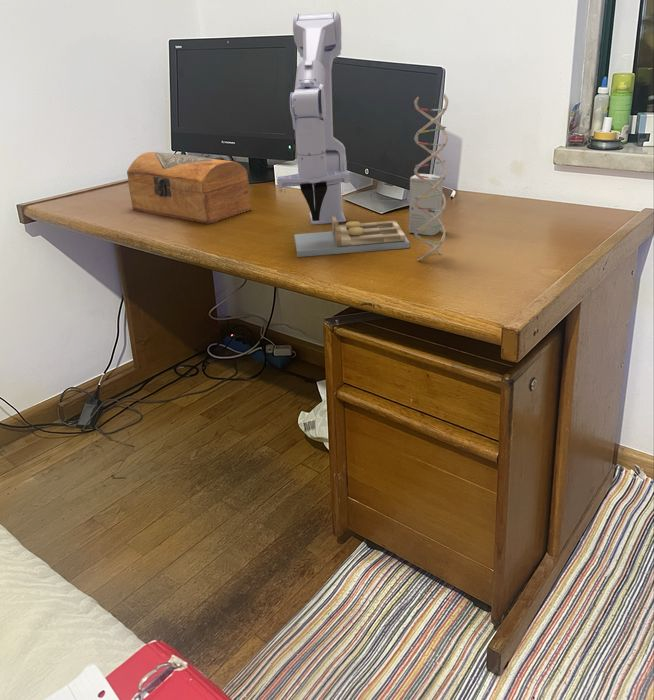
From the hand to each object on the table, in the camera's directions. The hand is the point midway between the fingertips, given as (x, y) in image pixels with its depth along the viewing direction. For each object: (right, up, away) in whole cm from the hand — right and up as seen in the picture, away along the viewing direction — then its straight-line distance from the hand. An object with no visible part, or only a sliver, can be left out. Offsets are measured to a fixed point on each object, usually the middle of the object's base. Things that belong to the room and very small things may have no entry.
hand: (315, 219), depth 142 cm
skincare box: (+24, -1, +7) cm, 25 cm away
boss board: (+7, -5, +3) cm, 9 cm away
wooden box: (-33, +9, +36) cm, 50 cm away
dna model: (+22, -9, -8) cm, 25 cm away
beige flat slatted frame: (+11, -3, +2) cm, 12 cm away
